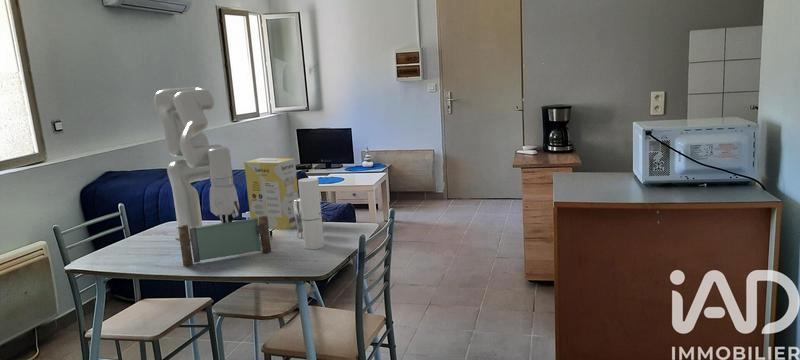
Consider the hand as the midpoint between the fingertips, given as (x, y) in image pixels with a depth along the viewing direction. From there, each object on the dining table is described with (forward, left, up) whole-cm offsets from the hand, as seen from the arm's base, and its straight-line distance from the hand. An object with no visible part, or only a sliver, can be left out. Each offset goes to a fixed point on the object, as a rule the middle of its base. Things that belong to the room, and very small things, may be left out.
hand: (228, 232), depth 206 cm
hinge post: (-4, -15, -8) cm, 17 cm away
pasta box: (-18, +35, -9) cm, 40 cm away
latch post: (+9, +9, -8) cm, 15 cm away
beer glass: (+7, +29, -9) cm, 31 cm away
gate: (+2, -3, -8) cm, 9 cm away
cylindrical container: (+20, +22, -9) cm, 31 cm away
